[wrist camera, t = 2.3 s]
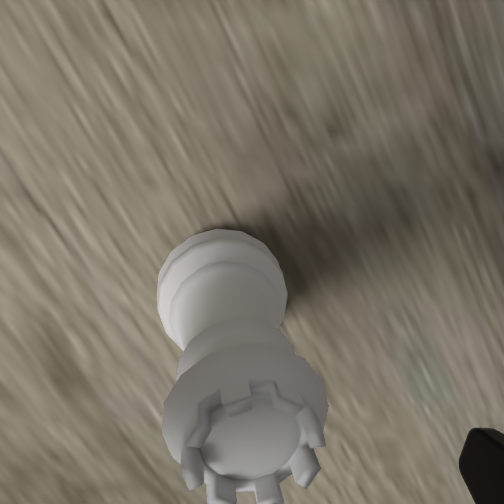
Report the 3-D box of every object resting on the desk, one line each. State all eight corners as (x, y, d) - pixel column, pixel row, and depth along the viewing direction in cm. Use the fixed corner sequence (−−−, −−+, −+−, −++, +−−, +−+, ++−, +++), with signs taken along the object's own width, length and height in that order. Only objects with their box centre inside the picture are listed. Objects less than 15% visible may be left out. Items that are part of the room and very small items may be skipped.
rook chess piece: (282, 332, 15) (374, 530, 8) (164, 347, 15) (139, 575, 7) (278, 219, 14) (384, 324, 6) (149, 230, 13) (97, 360, 6)
